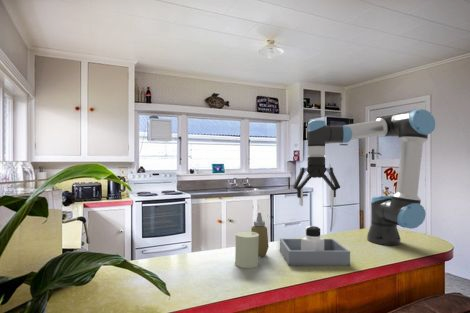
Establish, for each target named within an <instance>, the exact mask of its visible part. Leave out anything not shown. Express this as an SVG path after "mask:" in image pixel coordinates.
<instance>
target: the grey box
mask: <svg viewBox="0 0 470 313" xmlns="http://www.w3.org/2000/svg"><path fill="white" fill-rule="evenodd" d="M301 239H302V238H279V252H280V255H282V257H283V259H284V261H285V262H286V264H287V265H288V266H289V267H290V266H292V267H293V266H295V267H297V266H299V267H300V266H302V267H303V266H309V267H310V266H313V267H316V266H317V267H319V266H320V267H325V266H326V267H327V266H332V267H333V266H334V267H336V266H338V267H339V266H340V267H343V266H345V267H347V266H349V267H350V266H351V251H350V250H349V249H347V248H346V247H345V246H344V245H342V244H341V243H339V242H338V241H337V240H336V239H334V238H323V239H324V251H301Z"/></svg>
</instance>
